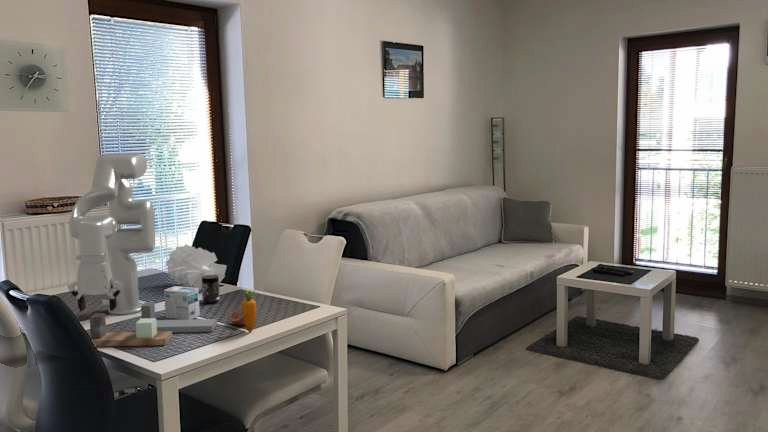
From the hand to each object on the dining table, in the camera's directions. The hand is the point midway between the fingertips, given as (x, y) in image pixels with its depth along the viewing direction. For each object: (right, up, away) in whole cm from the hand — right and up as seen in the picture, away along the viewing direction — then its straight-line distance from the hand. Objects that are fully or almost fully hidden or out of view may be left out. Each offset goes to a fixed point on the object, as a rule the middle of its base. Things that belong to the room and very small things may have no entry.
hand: (97, 309), depth 213 cm
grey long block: (+22, -9, +14) cm, 28 cm away
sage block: (+16, -9, +1) cm, 18 cm away
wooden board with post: (+11, -11, +1) cm, 15 cm away
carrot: (+47, -9, +10) cm, 49 cm away
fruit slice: (+42, -8, +19) cm, 47 cm away
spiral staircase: (+11, -1, +73) cm, 74 cm away
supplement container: (+24, -4, +49) cm, 55 cm away
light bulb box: (+19, -7, +29) cm, 35 cm away
